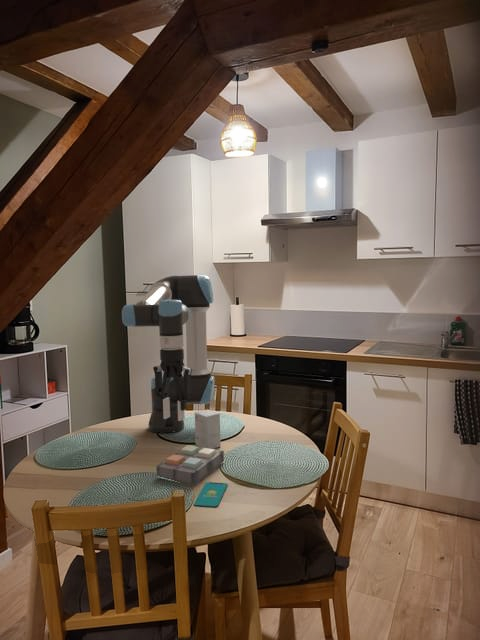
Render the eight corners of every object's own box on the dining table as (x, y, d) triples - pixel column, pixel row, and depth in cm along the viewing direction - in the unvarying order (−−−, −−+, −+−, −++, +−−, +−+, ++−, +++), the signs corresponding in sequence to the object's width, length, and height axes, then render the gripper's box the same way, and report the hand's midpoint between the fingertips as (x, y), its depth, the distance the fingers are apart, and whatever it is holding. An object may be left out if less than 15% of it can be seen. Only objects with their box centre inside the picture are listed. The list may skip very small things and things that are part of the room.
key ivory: (197, 460, 163) (197, 452, 163) (204, 456, 167) (204, 447, 167) (209, 462, 161) (209, 454, 161) (215, 458, 165) (215, 449, 165)
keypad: (156, 478, 155) (156, 466, 155) (189, 456, 173) (189, 445, 173) (194, 486, 150) (194, 473, 149) (223, 462, 167) (223, 450, 167)
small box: (221, 446, 183) (220, 413, 181) (207, 451, 179) (206, 416, 177) (208, 441, 189) (207, 408, 188) (195, 445, 185) (194, 412, 184)
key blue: (183, 471, 155) (183, 462, 154) (190, 466, 159) (190, 457, 158) (195, 473, 153) (194, 464, 152) (202, 468, 157) (201, 459, 156)
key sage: (181, 457, 166) (181, 449, 165) (188, 453, 170) (187, 445, 169) (192, 459, 164) (192, 451, 164) (198, 455, 168) (198, 446, 167)
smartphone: (192, 504, 137) (205, 481, 152) (192, 507, 137) (205, 484, 152) (217, 506, 136) (228, 483, 150) (217, 509, 136) (228, 485, 150)
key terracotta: (166, 467, 157) (165, 458, 157) (173, 462, 161) (173, 454, 161) (177, 469, 156) (177, 461, 155) (184, 464, 160) (184, 456, 159)
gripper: (141, 348, 155) (144, 418, 157) (189, 351, 147) (191, 425, 150) (155, 344, 162) (157, 412, 164) (201, 347, 154) (203, 418, 156)
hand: (174, 418), depth 157 cm, fingers open, 5 cm apart
